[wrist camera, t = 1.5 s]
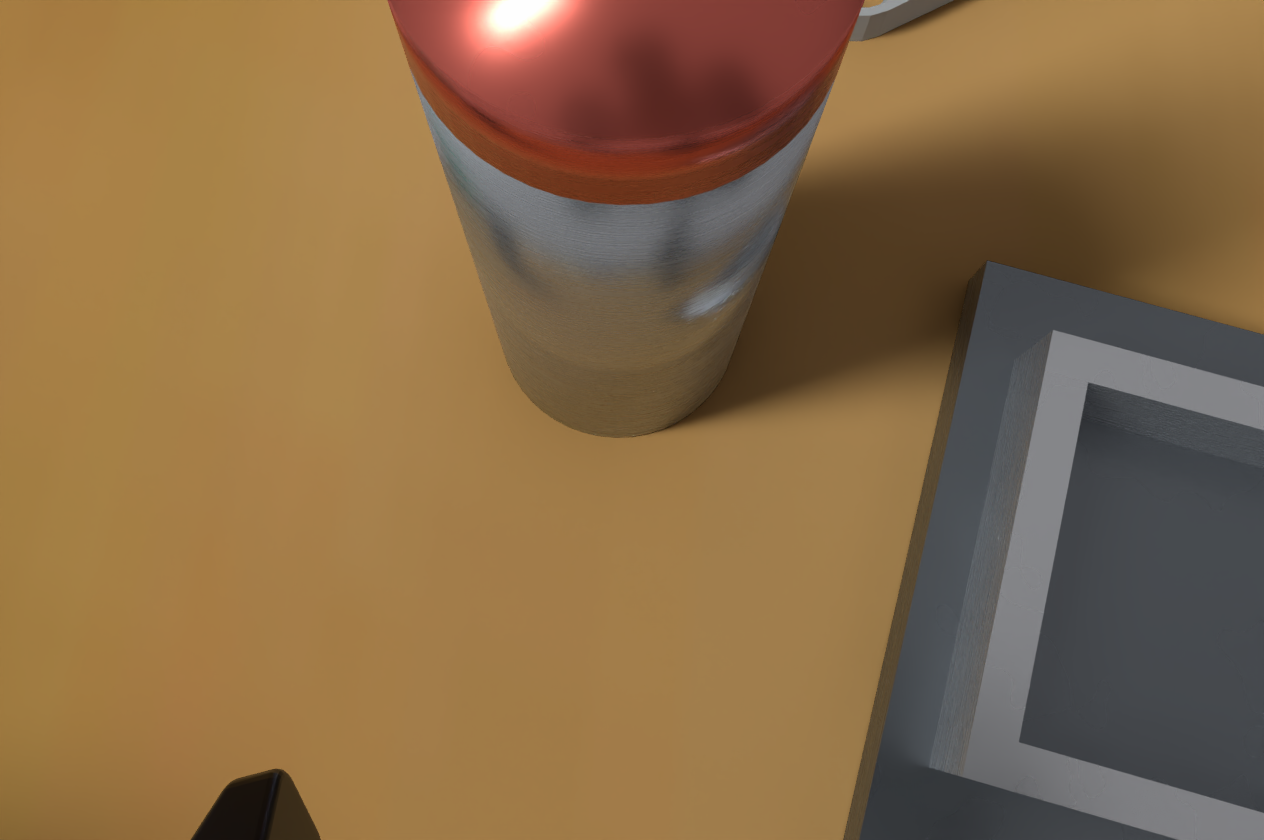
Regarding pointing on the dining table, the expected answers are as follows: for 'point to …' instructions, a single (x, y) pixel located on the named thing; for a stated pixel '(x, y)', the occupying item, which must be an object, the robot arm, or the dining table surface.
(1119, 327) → the fitting board
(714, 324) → the silver and red cylinder
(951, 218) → the dining table surface
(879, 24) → the adjustable wrench
